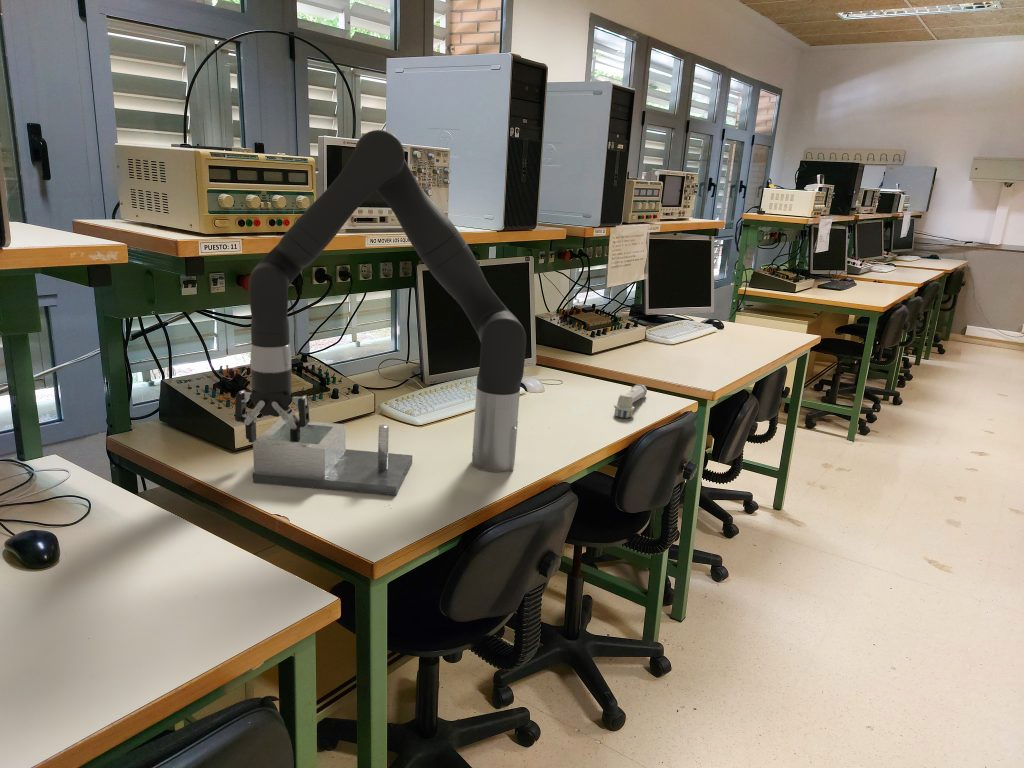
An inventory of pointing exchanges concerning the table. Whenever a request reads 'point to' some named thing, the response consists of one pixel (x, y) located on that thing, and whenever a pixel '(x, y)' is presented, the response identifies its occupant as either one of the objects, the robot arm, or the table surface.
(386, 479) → the grey base with peg
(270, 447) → the grey recessed block
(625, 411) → the grey handheld tool
